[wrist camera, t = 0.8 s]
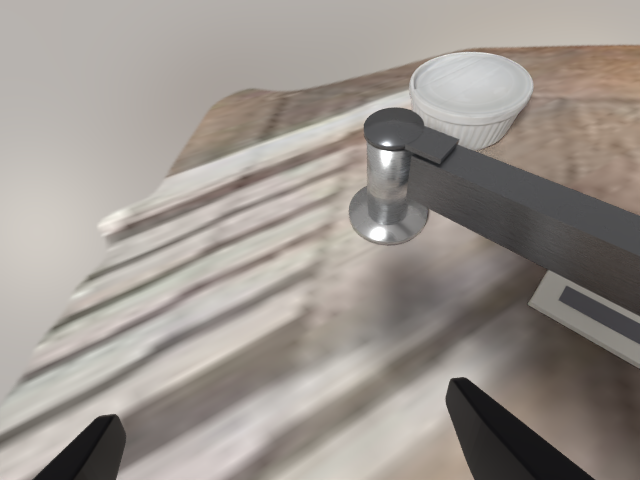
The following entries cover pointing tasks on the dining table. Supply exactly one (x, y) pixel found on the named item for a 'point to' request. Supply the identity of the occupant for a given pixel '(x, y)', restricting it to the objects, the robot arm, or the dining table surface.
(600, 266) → the bar
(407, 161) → the post
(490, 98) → the ramekin
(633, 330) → the label plate
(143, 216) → the dining table surface
